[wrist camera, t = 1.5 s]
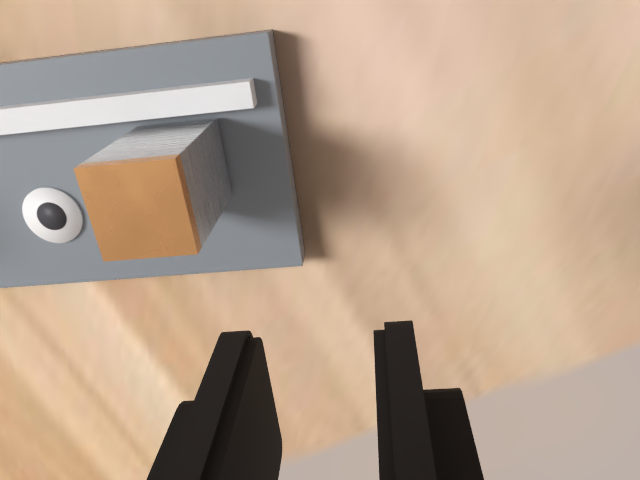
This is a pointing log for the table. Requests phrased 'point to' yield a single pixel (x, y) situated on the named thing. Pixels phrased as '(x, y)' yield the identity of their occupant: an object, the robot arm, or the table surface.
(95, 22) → the table surface
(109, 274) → the divider plate
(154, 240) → the block
